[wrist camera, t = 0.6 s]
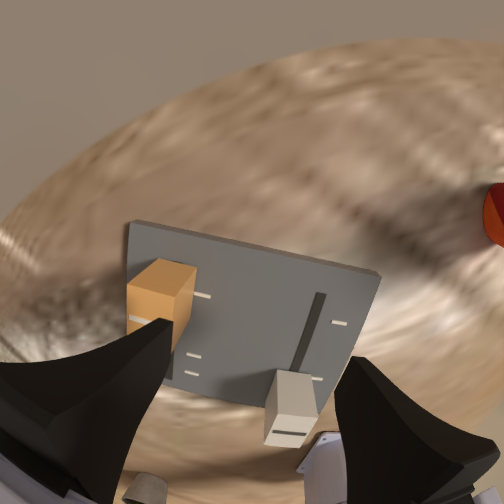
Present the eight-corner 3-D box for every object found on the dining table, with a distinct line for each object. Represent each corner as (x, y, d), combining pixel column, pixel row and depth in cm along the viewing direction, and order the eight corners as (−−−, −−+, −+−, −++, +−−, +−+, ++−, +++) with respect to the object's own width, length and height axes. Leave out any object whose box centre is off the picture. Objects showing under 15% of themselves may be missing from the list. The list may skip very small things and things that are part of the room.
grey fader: (296, 406, 21) (299, 449, 17) (265, 402, 21) (263, 445, 17) (310, 374, 20) (318, 418, 16) (277, 369, 20) (277, 414, 16)
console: (318, 405, 23) (319, 414, 22) (133, 365, 23) (127, 373, 22) (375, 271, 19) (381, 277, 18) (137, 219, 19) (129, 222, 18)
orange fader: (190, 318, 19) (169, 357, 15) (154, 308, 19) (126, 343, 15) (197, 267, 18) (174, 297, 14) (158, 258, 18) (126, 284, 14)
